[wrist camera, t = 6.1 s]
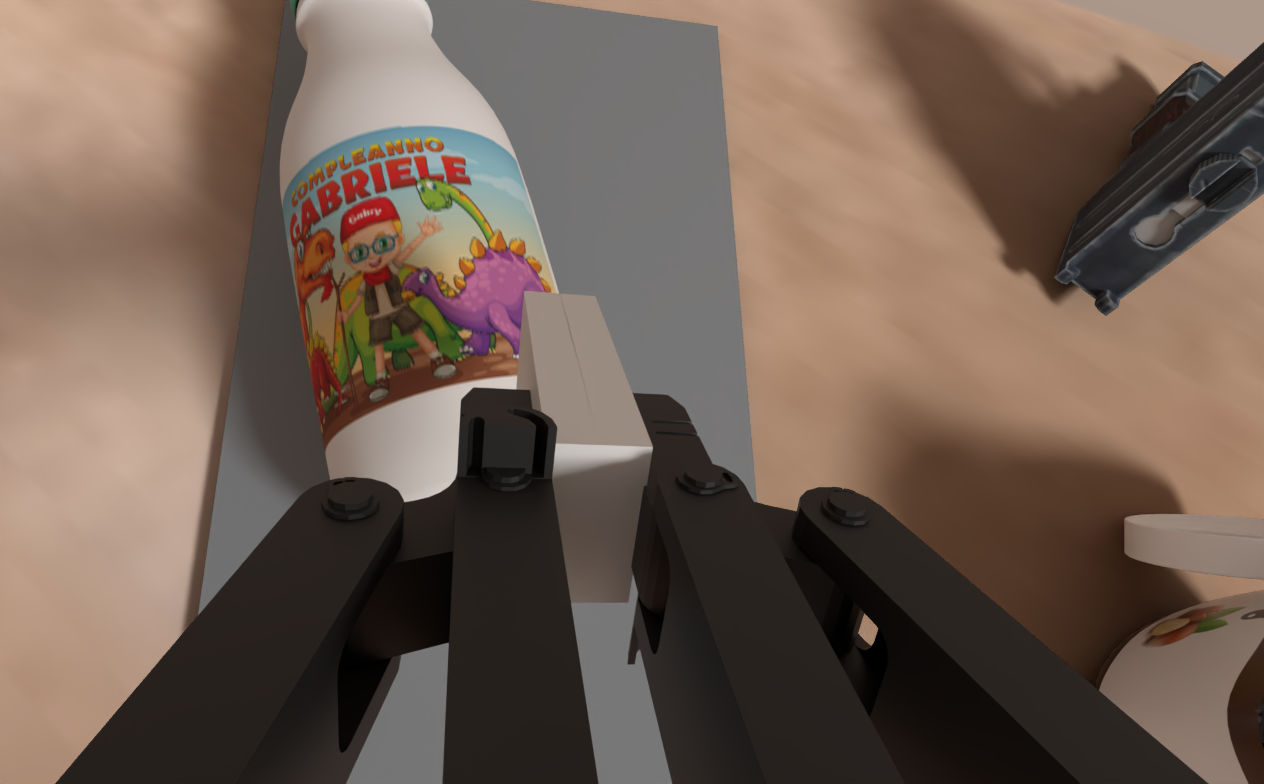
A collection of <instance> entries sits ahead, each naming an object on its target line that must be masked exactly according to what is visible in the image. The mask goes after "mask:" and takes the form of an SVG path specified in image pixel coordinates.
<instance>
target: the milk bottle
mask: <svg viewBox="0 0 1264 784" xmlns="http://www.w3.org/2000/svg"><path fill="white" fill-rule="evenodd" d="M290 4H291V9H292V13H293V16H294V20H295V23H296V32H297V36H298V39H299V41H300V43H301V45H302V46H303V48H304V49H305V50H306V51H307V53H308V54H307V62H306V68H305V73H304V77H303V80H302V83H301V86H300V88H299V91H298V93H297V96H296V98H295V101H294V103H293V106H292V108H291V111H290V114H289V117H288V119H287V122H286V126H285V131H284V136H283V140H282V145H281V156H280V194H281V202H282V209H283V216H284V224H285V231H286V238H287V246H288V252H289V257H290V263H291V269H292V274H293V280H294V286H295V291H296V297H297V303H298V309H299V314H300V320H301V326H302V331H303V337H304V342H305V348H306V353H307V358H308V364H309V369H310V375H311V380H312V385H313V391H314V396H315V402H316V407H317V412H318V418H319V423H320V428H321V434H322V439H323V444H324V450H325V455H326V460H327V465H328V471H329V476H330V480H332V479H337V478H344V477H357V478H371V479H374V480H378V481H382V482H385V483H388V484H389V485H391V486H392V487H394V488H395V489H397V490H398V491H399V492H400V494H401V496H402V498H403V500H404V502H408V501H414V500H419V499H423V498H427V497H430V496H432V495H435V494H437V493H440V492H441V491H443V490H444V489H446V488H447V487H449V486H450V485H451V483H452V482H453V481H454V480H455V478H456V474H457V464H458V444H459V424H460V407H461V399H462V398H463V397H464V396H465V395H466V394H467V393H468V392H469V391H470V390H471V389H472V388H473V387H478V388H499V389H516V385H517V373H518V360H519V347H520V335H521V322H522V310H523V297H524V291H533V292H546V293H559V291H558V288H557V284H556V281H555V278H554V274H553V271H552V268H551V264H550V261H549V258H548V254H547V251H546V248H545V245H544V241H543V238H542V235H541V231H540V228H539V225H538V221H537V218H536V215H535V211H534V208H533V205H532V201H531V199H530V196H529V193H528V190H527V187H526V184H525V181H524V178H523V175H522V172H521V169H520V166H519V163H518V160H517V157H516V155H515V152H514V150H513V148H512V145H511V143H510V141H509V139H508V137H507V134H506V132H505V130H504V128H503V127H502V125H501V123H500V121H499V120H498V118H497V116H496V115H495V113H494V111H493V110H492V108H491V107H490V106H489V104H488V103H487V102H486V100H485V99H484V98H483V96H482V95H481V94H480V92H479V91H478V90H477V89H476V88H475V87H474V86H473V85H472V84H471V83H470V81H469V80H468V79H467V78H466V77H465V76H464V75H463V74H462V73H461V72H459V71H458V70H457V68H456V67H455V66H454V65H453V64H452V63H451V62H450V61H449V60H448V59H447V58H446V57H445V55H444V54H443V53H442V52H441V50H440V49H439V47H438V46H437V44H436V43H435V41H434V40H433V38H432V37H431V33H432V28H433V19H432V14H431V11H430V8H429V6H428V1H427V0H290Z"/></svg>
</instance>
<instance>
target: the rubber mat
mask: <svg viewBox="0 0 1264 784" xmlns="http://www.w3.org/2000/svg"><path fill="white" fill-rule="evenodd" d="M427 1H428V6H429V8H430V11H431V14H432V19H433V28H432V33H431V37H432V38H433V40H434V41H435V43H436V44H437V46H438V47H439V49H440V50H441V52H442V53H443V54H444V55H445V57H446V58H447V59H448V60H449V61H450V62H451V63H452V64H453V65H454V66H455V67H456V68H457V70H458V71H459V72H461V73H462V74H463V75H464V76H465V77H466V78H467V79H468V80H469V81H470V83H471V84H472V85H473V86H474V87H475V88H476V89H477V90H478V91H479V92H480V94H481V95H482V96H483V98H484V99H485V100H486V102H487V103H488V104H489V106H490V107H491V108H492V110H493V111H494V113H495V115H496V116H497V118H498V120H499V121H500V123H501V125H502V127H503V128H504V130H505V132H506V134H507V137H508V139H509V141H510V143H511V145H512V148H513V150H514V152H515V155H516V157H517V160H518V163H519V166H520V169H521V172H522V175H523V178H524V181H525V184H526V187H527V190H528V193H529V196H530V199H531V201H532V205H533V208H534V211H535V215H536V218H537V221H538V225H539V228H540V231H541V235H542V238H543V241H544V245H545V248H546V251H547V254H548V258H549V261H550V264H551V268H552V271H553V274H554V278H555V281H556V284H557V288H558V291H559V293H560V294H574V295H587V296H595V297H596V299H597V302H598V305H599V307H600V310H601V312H602V315H603V318H604V320H605V323H606V325H607V328H608V331H609V333H610V336H611V339H612V341H613V344H614V346H615V349H616V352H617V354H618V357H619V359H620V362H621V365H622V367H623V370H624V373H625V375H626V378H627V380H628V383H629V386H630V388H631V391H632V393H643V394H664V395H669V396H670V397H671V398H673V399H674V400H675V401H677V402H678V403H679V404H681V405H682V406H683V407H685V409H686V411H687V413H688V415H689V417H690V419H691V421H692V424H693V425H694V427H695V429H696V431H697V436H699V437H700V439H701V441H702V443H703V445H704V447H705V449H706V451H707V453H708V455H709V457H710V459H711V461H712V463H713V464H715V465H718V466H721V467H724V468H725V469H727V470H729V471H731V472H732V473H734V474H736V475H737V476H738V477H739V478H740V480H741V481H742V482H743V483H744V484H745V486H746V488H747V490H748V492H749V494H750V496H751V497H752V499H753V501H754V502H757V499H756V487H755V475H754V463H753V450H752V438H751V426H750V414H749V402H748V390H747V378H746V366H745V354H744V342H743V330H742V318H741V306H740V294H739V282H738V270H737V258H736V245H735V233H734V221H733V209H732V197H731V185H730V173H729V161H728V149H727V137H726V125H725V113H724V101H723V89H722V77H721V65H720V53H719V40H718V28H717V26H712V25H705V24H697V23H690V22H683V21H676V20H668V19H661V18H654V17H646V16H639V15H632V14H625V13H617V12H610V11H603V10H595V9H588V8H581V7H574V6H566V5H559V4H552V3H545V2H537V1H530V0H427ZM307 54H308V53H307V51H306V50H305V49H304V48H303V46H302V45H301V43H300V41H299V39H298V36H297V32H296V23H295V20H294V16H293V13H292V9H291V4H290V0H285V6H284V13H283V20H282V27H281V34H280V41H279V48H278V55H277V62H276V69H275V76H274V83H273V90H272V97H271V105H270V112H269V119H268V126H267V133H266V140H265V147H264V154H263V161H262V168H261V175H260V182H259V189H258V196H257V203H256V210H255V217H254V224H253V231H252V238H251V245H250V252H249V259H248V266H247V273H246V281H245V288H244V295H243V302H242V309H241V316H240V323H239V330H238V337H237V344H236V351H235V358H234V365H233V372H232V379H231V386H230V393H229V400H228V407H227V414H226V421H225V428H224V435H223V442H222V449H221V456H220V464H219V471H218V478H217V485H216V492H215V499H214V506H213V513H212V520H211V527H210V534H209V541H208V548H207V555H206V562H205V569H204V576H203V583H202V590H201V597H200V604H199V611H198V615H199V614H200V613H201V611H202V610H203V609H204V608H205V607H206V606H207V604H208V603H209V602H210V601H211V600H212V599H213V597H214V596H215V595H216V594H217V593H218V591H219V590H220V589H221V588H222V587H223V586H224V584H225V583H226V582H227V581H228V580H229V579H230V577H231V576H232V575H233V574H234V573H235V571H236V570H237V569H238V568H239V567H240V566H241V564H242V563H243V562H244V561H245V560H246V559H247V557H248V556H249V555H250V554H251V553H252V551H253V550H254V549H255V548H256V547H257V546H258V544H259V543H260V542H261V541H262V540H263V538H264V537H265V536H266V535H267V534H268V533H269V531H270V530H271V529H272V528H273V527H274V526H275V524H276V523H277V522H278V521H279V520H280V518H281V517H282V516H283V515H284V514H285V513H286V511H287V510H288V509H289V508H290V507H291V506H292V504H293V503H294V502H295V501H296V500H297V498H298V497H299V496H300V495H302V494H303V493H304V492H306V491H307V490H308V489H309V488H311V487H312V486H315V485H318V484H320V483H323V482H326V481H328V480H330V476H329V471H328V465H327V460H326V455H325V450H324V444H323V439H322V434H321V428H320V423H319V418H318V412H317V407H316V402H315V396H314V391H313V385H312V380H311V375H310V369H309V364H308V358H307V353H306V348H305V342H304V337H303V331H302V326H301V320H300V314H299V309H298V303H297V297H296V291H295V286H294V280H293V274H292V269H291V263H290V257H289V252H288V246H287V238H286V231H285V224H284V216H283V209H282V202H281V194H280V156H281V145H282V140H283V136H284V131H285V126H286V122H287V119H288V117H289V114H290V111H291V108H292V106H293V103H294V101H295V98H296V96H297V93H298V91H299V88H300V86H301V83H302V80H303V77H304V73H305V68H306V62H307ZM637 596H638V591H637V587H636V583H635V580H634V576H632V582H631V588H630V594H629V601H628V603H571V606H572V612H573V619H574V625H575V632H576V639H577V645H578V652H579V658H580V665H581V671H582V678H583V684H584V691H585V698H586V704H587V711H588V717H589V724H590V730H591V737H592V743H593V750H594V757H595V763H596V770H597V776H598V783H599V784H672V781H671V777H670V772H669V768H668V764H667V760H666V756H665V752H664V747H663V743H662V739H661V735H660V731H659V727H658V722H657V718H656V714H655V710H654V706H653V701H652V697H651V693H650V689H649V685H648V681H647V676H646V672H645V668H644V664H643V660H642V656H641V651H640V650H639V651H638V652H637V654H636V660H635V664H632V665H627V663H628V651H629V645H630V639H631V633H632V626H633V620H634V614H635V608H636V602H637ZM448 649H449V643H446V644H442V645H438V646H434V647H430V648H426V649H422V650H418V651H415V652H411V653H407V654H403V655H401V660H400V666H399V671H398V673H397V675H396V677H395V679H394V682H393V684H392V686H391V688H390V690H389V692H388V694H387V697H386V699H385V701H384V703H383V705H382V707H381V710H380V712H379V714H378V716H377V718H376V720H375V722H374V725H373V727H372V729H371V731H370V733H369V735H368V738H367V740H366V742H365V744H364V746H363V748H362V750H361V753H360V755H359V757H358V759H357V761H356V763H355V766H354V768H353V770H352V772H351V774H350V776H349V778H348V781H347V783H346V784H442V778H443V757H444V735H445V713H446V692H447V670H448Z"/></svg>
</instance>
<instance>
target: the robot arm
mask: <svg viewBox="0 0 1264 784" xmlns="http://www.w3.org/2000/svg"><path fill="white" fill-rule="evenodd" d="M632 576H634V580H635V583H636V587H637V591H638V596H637V602H636V608H635V614H634V620H633V626H632V633H631V639H630V645H629V651H628V663H627V665H632V664H635V660H636V654H637V652H638V651H639V650H640V651H641V656H642V660H643V664H644V668H645V672H646V676H647V681H648V685H649V689H650V693H651V697H652V701H653V706H654V710H655V714H656V718H657V722H658V727H659V731H660V735H661V739H662V743H663V747H664V752H665V756H666V760H667V764H668V768H669V772H670V777H671V781H672V784H1208V783H1207V782H1206V781H1205V780H1204V779H1203V778H1201V777H1200V776H1199V775H1198V774H1197V773H1195V772H1194V771H1193V770H1192V769H1191V768H1190V767H1188V766H1187V765H1186V764H1185V763H1184V762H1182V761H1181V760H1180V759H1179V758H1178V757H1177V756H1175V755H1174V754H1173V753H1172V752H1171V751H1169V750H1168V749H1167V748H1166V747H1165V746H1164V745H1162V744H1161V743H1160V742H1159V741H1158V740H1157V739H1155V738H1154V737H1153V736H1152V735H1151V734H1149V733H1148V732H1147V731H1146V730H1145V729H1144V728H1142V727H1141V726H1140V725H1139V724H1138V723H1136V722H1135V721H1134V720H1133V719H1132V718H1131V717H1129V716H1128V715H1127V714H1126V713H1125V712H1123V711H1122V710H1121V709H1120V708H1119V707H1118V706H1116V705H1115V704H1114V703H1113V702H1112V701H1111V700H1109V699H1108V698H1107V697H1106V696H1105V695H1103V694H1102V693H1101V692H1100V691H1099V690H1098V689H1096V688H1095V687H1094V686H1093V685H1092V684H1090V683H1089V682H1088V681H1087V680H1086V679H1085V678H1083V677H1082V676H1081V675H1080V674H1079V673H1077V672H1076V671H1075V670H1074V669H1073V668H1072V667H1070V666H1069V665H1068V664H1067V663H1066V662H1064V661H1063V660H1062V659H1061V658H1060V657H1059V656H1057V655H1056V654H1055V653H1054V652H1053V651H1052V650H1050V649H1049V648H1048V647H1047V646H1046V645H1044V644H1043V643H1042V642H1041V641H1040V640H1039V639H1037V638H1036V637H1035V636H1034V635H1033V634H1031V633H1030V632H1029V631H1028V630H1027V629H1026V628H1024V627H1023V626H1022V625H1021V624H1020V623H1018V622H1017V621H1016V620H1015V619H1014V618H1013V617H1011V616H1010V615H1009V614H1008V613H1007V612H1005V611H1004V610H1003V609H1002V608H1001V607H1000V606H998V605H997V604H996V603H995V602H994V601H993V600H991V599H990V598H989V597H988V596H987V595H985V594H984V593H983V592H982V591H981V590H980V589H978V588H977V587H976V586H975V585H974V584H972V583H971V582H970V581H969V580H968V579H967V578H965V577H964V576H963V575H962V574H961V573H959V572H958V571H957V570H956V569H955V568H954V567H952V566H951V565H950V564H949V563H948V562H947V561H945V560H944V559H943V558H942V557H941V556H939V555H938V554H937V553H936V552H935V551H934V550H932V549H931V548H930V547H929V546H928V545H926V544H925V543H924V542H923V541H922V540H921V539H919V538H918V537H917V536H916V535H915V534H913V533H912V532H911V531H910V530H909V529H908V528H906V527H905V526H904V525H903V524H902V523H900V522H899V521H898V520H897V519H896V518H895V517H893V516H892V515H891V514H890V513H889V512H888V511H886V510H885V509H884V508H883V507H882V506H880V505H879V504H877V503H876V502H874V501H873V500H871V499H869V498H868V497H865V496H863V495H860V494H858V493H856V492H855V491H853V490H849V489H845V488H844V489H842V488H839V487H818V488H815V489H811V490H808V491H806V492H805V493H804V494H803V495H802V496H801V497H800V500H799V504H798V508H797V511H792V510H787V509H782V508H778V507H773V506H768V505H764V504H761V503H757V502H754V501H753V499H752V497H751V496H750V494H749V492H748V490H747V488H746V486H745V484H744V483H743V482H742V481H741V480H740V478H739V477H738V476H737V475H736V474H734V473H732V472H731V471H729V470H727V469H725V468H724V467H721V466H718V465H715V464H713V463H712V461H711V459H710V457H709V455H708V453H707V451H706V449H705V447H704V445H703V443H702V441H701V439H700V437H699V436H697V431H696V429H695V427H694V425H693V424H692V421H691V419H690V417H689V415H688V413H687V411H686V409H685V407H683V406H682V405H681V404H679V403H678V402H677V401H675V400H674V399H673V398H671V397H670V396H669V395H664V394H643V393H632V391H631V388H630V386H629V383H628V380H627V378H626V375H625V373H624V370H623V367H622V365H621V362H620V359H619V357H618V354H617V352H616V349H615V346H614V344H613V341H612V339H611V336H610V333H609V331H608V328H607V325H606V323H605V320H604V318H603V315H602V312H601V310H600V307H599V305H598V302H597V299H596V297H595V296H587V295H574V294H560V293H546V292H533V291H524V297H523V310H522V322H521V335H520V347H519V360H518V373H517V385H516V389H499V388H478V387H473V388H472V389H471V390H470V391H469V392H468V393H467V394H466V395H465V396H464V397H463V398H462V399H461V407H460V424H459V444H458V464H457V474H456V478H455V480H454V481H453V482H452V483H451V485H450V486H449V487H447V488H446V489H444V490H443V491H441V492H440V493H437V494H435V495H432V496H430V497H427V498H423V499H419V500H414V501H408V502H404V500H403V498H402V496H401V494H400V492H399V491H398V490H397V489H395V488H394V487H392V486H391V485H389V484H388V483H385V482H382V481H378V480H374V479H371V478H357V477H344V478H337V479H332V480H328V481H326V482H323V483H320V484H318V485H315V486H312V487H311V488H309V489H308V490H307V491H306V492H304V493H303V494H302V495H300V496H299V497H298V498H297V500H296V501H295V502H294V503H293V504H292V506H291V507H290V508H289V509H288V510H287V511H286V513H285V514H284V515H283V516H282V517H281V518H280V520H279V521H278V522H277V523H276V524H275V526H274V527H273V528H272V529H271V530H270V531H269V533H268V534H267V535H266V536H265V537H264V538H263V540H262V541H261V542H260V543H259V544H258V546H257V547H256V548H255V549H254V550H253V551H252V553H251V554H250V555H249V556H248V557H247V559H246V560H245V561H244V562H243V563H242V564H241V566H240V567H239V568H238V569H237V570H236V571H235V573H234V574H233V575H232V576H231V577H230V579H229V580H228V581H227V582H226V583H225V584H224V586H223V587H222V588H221V589H220V590H219V591H218V593H217V594H216V595H215V596H214V597H213V599H212V600H211V601H210V602H209V603H208V604H207V606H206V607H205V608H204V609H203V610H202V611H201V613H200V614H199V615H198V616H197V617H196V619H195V620H194V621H193V622H192V623H191V624H190V626H189V627H188V628H187V629H186V630H185V631H184V633H183V634H182V635H181V636H180V637H179V639H178V640H177V641H176V642H175V643H174V644H173V646H172V647H171V648H170V649H169V650H168V652H167V653H166V654H165V655H164V656H163V657H162V659H161V660H160V661H159V662H158V663H157V664H156V666H155V667H154V668H153V669H152V670H151V672H150V673H149V674H148V675H147V676H146V677H145V679H144V680H143V681H142V682H141V683H140V684H139V686H138V687H137V688H136V689H135V690H134V692H133V693H132V694H131V695H130V696H129V697H128V699H127V700H126V701H125V702H124V703H123V704H122V706H121V707H120V708H119V709H118V710H117V712H116V713H115V714H114V715H113V716H112V717H111V719H110V720H109V721H108V722H107V723H106V724H105V726H104V727H103V728H102V729H101V730H100V732H99V733H98V734H97V735H96V736H95V737H94V739H93V740H92V741H91V742H90V743H89V745H88V746H87V747H86V748H85V749H84V750H83V752H82V753H81V754H80V755H79V756H78V757H77V759H76V760H75V761H74V762H73V763H72V765H71V766H70V767H69V768H68V769H67V770H66V772H65V773H64V774H63V775H62V776H61V777H60V779H59V780H58V781H57V782H56V783H55V784H346V783H347V781H348V778H349V776H350V774H351V772H352V770H353V768H354V766H355V763H356V761H357V759H358V757H359V755H360V753H361V750H362V748H363V746H364V744H365V742H366V740H367V738H368V735H369V733H370V731H371V729H372V727H373V725H374V722H375V720H376V718H377V716H378V714H379V712H380V710H381V707H382V705H383V703H384V701H385V699H386V697H387V694H388V692H389V690H390V688H391V686H392V684H393V682H394V679H395V677H396V675H397V673H398V671H399V666H400V660H401V655H403V654H407V653H411V652H415V651H418V650H422V649H426V648H430V647H434V646H438V645H442V644H446V643H449V649H448V670H447V692H446V713H445V735H444V757H443V778H442V784H599V783H598V776H597V770H596V763H595V757H594V750H593V743H592V737H591V730H590V724H589V717H588V711H587V704H586V698H585V691H584V684H583V678H582V671H581V665H580V658H579V652H578V645H577V639H576V632H575V625H574V619H573V612H572V606H571V603H628V601H629V594H630V588H631V582H632ZM864 613H865V614H866V615H867V616H868V617H869V618H870V619H871V620H872V621H873V623H874V624H875V625H876V626H877V627H878V632H877V635H876V638H875V641H874V643H873V645H872V646H871V645H869V644H868V643H867V642H865V641H864V639H863V638H862V637H861V636H860V635H859V634H858V632H859V629H860V625H861V622H862V619H863V616H864Z"/></svg>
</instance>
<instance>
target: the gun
mask: <svg viewBox="0 0 1264 784" xmlns="http://www.w3.org/2000/svg"><path fill="white" fill-rule="evenodd" d="M1129 146H1131V147H1132V150H1131V152H1130V154H1129V156H1128V158H1127V159H1126V160H1125V161H1124V162H1122V163H1121V166H1120V169H1119V171H1118V172H1117V173H1116V174H1115V175H1114V176H1113V177H1112V178H1111V179H1110V180H1109V181H1108V182H1107V183H1106V184H1105V185H1104V186H1103V187H1102V188H1101V189H1100V190H1099V191H1098V192H1097V193H1096V194H1095V195H1094V196H1093V197H1092V198H1091V199H1090V200H1089V201H1088V202H1087V203H1086V205H1085V206H1084V207H1083V208H1082V209H1081V210H1080V211H1079V212H1078V213H1077V215H1076V218H1075V221H1074V223H1073V226H1072V229H1071V232H1070V235H1069V237H1068V240H1067V243H1066V246H1065V249H1064V251H1063V254H1062V257H1061V260H1060V263H1059V265H1058V268H1057V271H1056V274H1055V277H1054V278H1055V279H1057V280H1058V281H1060V282H1061V283H1064V284H1068V283H1069V282H1071V281H1072V282H1073V283H1075V284H1076V285H1077V286H1079V287H1080V288H1081V289H1083V290H1084V291H1085V292H1087V293H1088V294H1089V295H1091V296H1092V297H1093V298H1095V299H1096V301H1095V304H1094V305H1095V306H1096V307H1097V309H1098V310H1099V311H1100V312H1101V313H1103V314H1104V315H1105V316H1107V315H1108V314H1109V313H1111V312H1112V311H1113V310H1115V309H1116V308H1118V306H1119V302H1120V299H1121V298H1123V297H1124V296H1125V295H1127V294H1128V293H1129V292H1131V291H1132V290H1134V289H1135V288H1136V287H1138V286H1139V285H1140V284H1142V283H1143V282H1144V281H1146V280H1147V279H1149V278H1150V277H1151V276H1153V275H1154V274H1155V273H1157V272H1158V271H1159V270H1161V269H1162V268H1163V267H1165V266H1166V265H1168V264H1169V263H1170V262H1172V261H1173V260H1174V259H1176V258H1177V257H1178V256H1180V255H1181V254H1182V253H1184V252H1185V251H1187V250H1188V249H1189V248H1191V247H1192V246H1193V245H1195V244H1196V243H1197V242H1199V241H1200V240H1201V239H1203V238H1204V237H1206V236H1207V235H1208V234H1210V233H1211V232H1212V231H1214V230H1215V229H1216V228H1218V227H1219V226H1220V225H1222V224H1223V223H1225V222H1226V221H1227V220H1229V219H1230V218H1231V217H1233V216H1234V215H1235V214H1237V213H1238V212H1239V211H1241V210H1242V209H1244V208H1245V207H1246V206H1248V205H1249V204H1250V203H1252V202H1253V201H1254V200H1256V199H1257V198H1259V197H1260V196H1261V195H1263V194H1264V43H1262V44H1261V45H1260V46H1259V47H1258V48H1257V49H1256V50H1255V51H1253V52H1252V53H1251V54H1250V55H1249V56H1248V57H1247V58H1246V59H1244V60H1243V61H1242V62H1241V63H1240V64H1239V65H1238V66H1237V67H1235V68H1234V69H1233V70H1232V71H1231V72H1230V73H1229V74H1228V75H1226V76H1225V77H1224V76H1222V75H1221V74H1220V73H1218V72H1217V71H1215V70H1214V69H1213V68H1211V67H1210V66H1208V65H1207V64H1206V63H1204V62H1203V61H1202V62H1199V63H1195V64H1193V65H1191V66H1190V67H1189V68H1188V69H1187V70H1186V71H1185V72H1184V73H1183V74H1182V75H1181V76H1180V77H1179V78H1178V79H1176V80H1175V81H1174V82H1173V83H1172V84H1171V85H1170V86H1169V87H1168V88H1167V89H1166V90H1165V91H1164V92H1162V93H1161V94H1160V95H1159V96H1158V97H1157V99H1156V103H1155V106H1154V110H1153V111H1152V112H1151V113H1150V114H1148V115H1147V116H1146V117H1145V118H1144V119H1143V120H1142V121H1141V122H1140V123H1139V124H1138V125H1137V126H1135V127H1134V128H1133V129H1132V131H1131V134H1130V141H1129Z"/></svg>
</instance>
